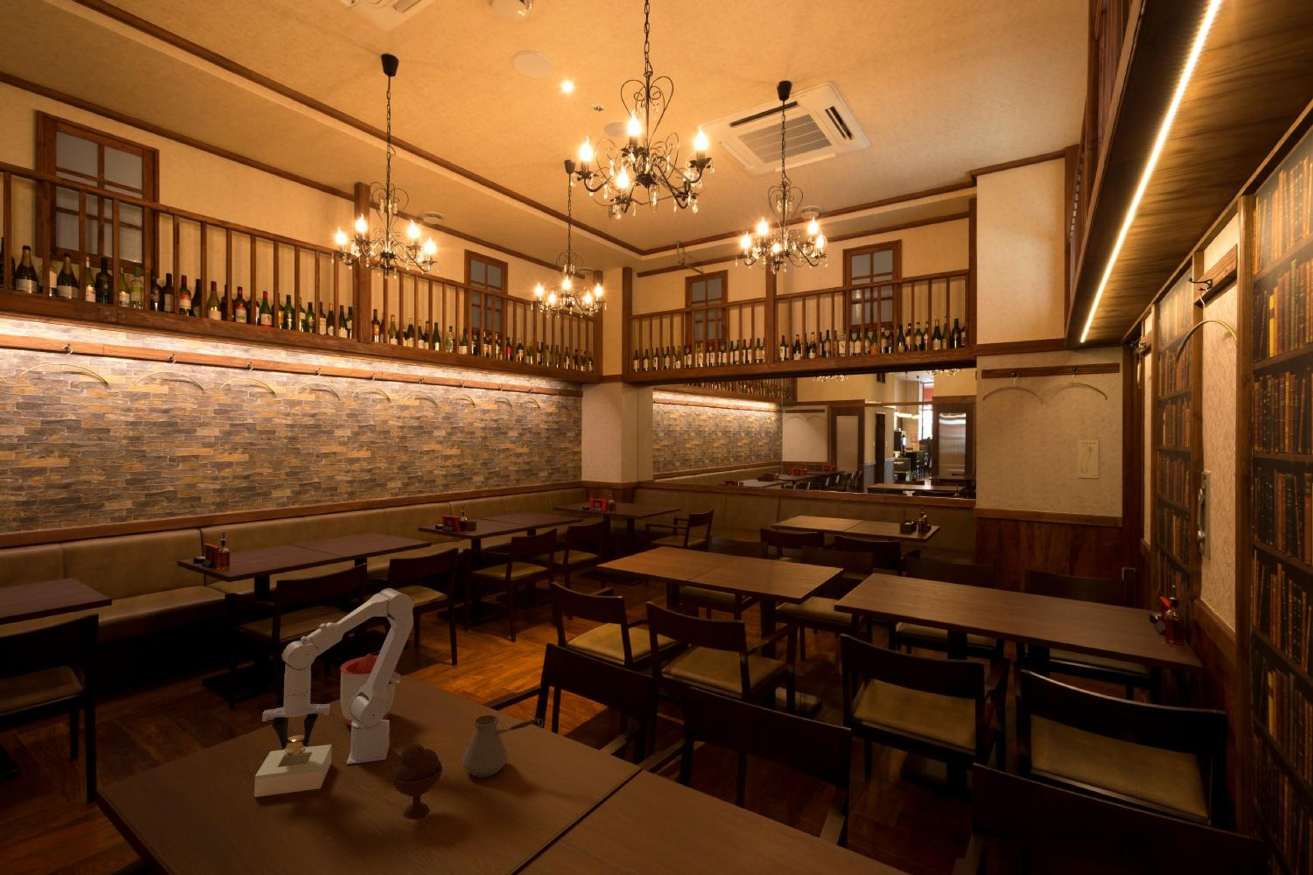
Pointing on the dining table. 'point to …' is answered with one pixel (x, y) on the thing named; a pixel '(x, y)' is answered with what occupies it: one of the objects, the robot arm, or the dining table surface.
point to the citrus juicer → (362, 683)
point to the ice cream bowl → (416, 776)
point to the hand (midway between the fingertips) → (295, 745)
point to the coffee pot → (488, 746)
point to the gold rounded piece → (294, 745)
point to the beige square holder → (293, 771)
